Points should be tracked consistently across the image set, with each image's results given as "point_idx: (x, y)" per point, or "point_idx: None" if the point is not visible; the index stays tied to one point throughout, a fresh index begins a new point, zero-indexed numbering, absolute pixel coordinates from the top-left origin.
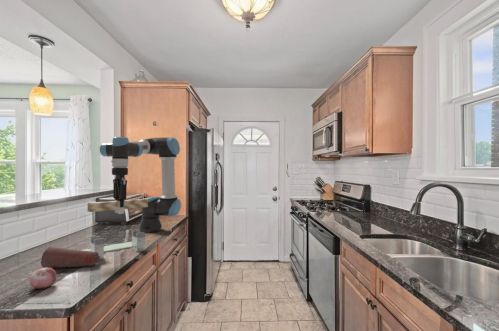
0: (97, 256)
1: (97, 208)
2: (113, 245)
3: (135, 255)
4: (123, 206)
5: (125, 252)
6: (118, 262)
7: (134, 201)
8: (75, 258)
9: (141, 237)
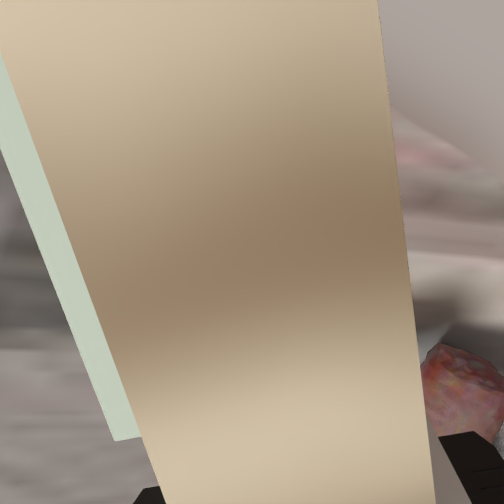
0: (496, 372)
1: None
2: (59, 228)
3: (393, 109)
4: (491, 445)
5: None
6: (484, 234)
7: (392, 204)
8: None
9: None
